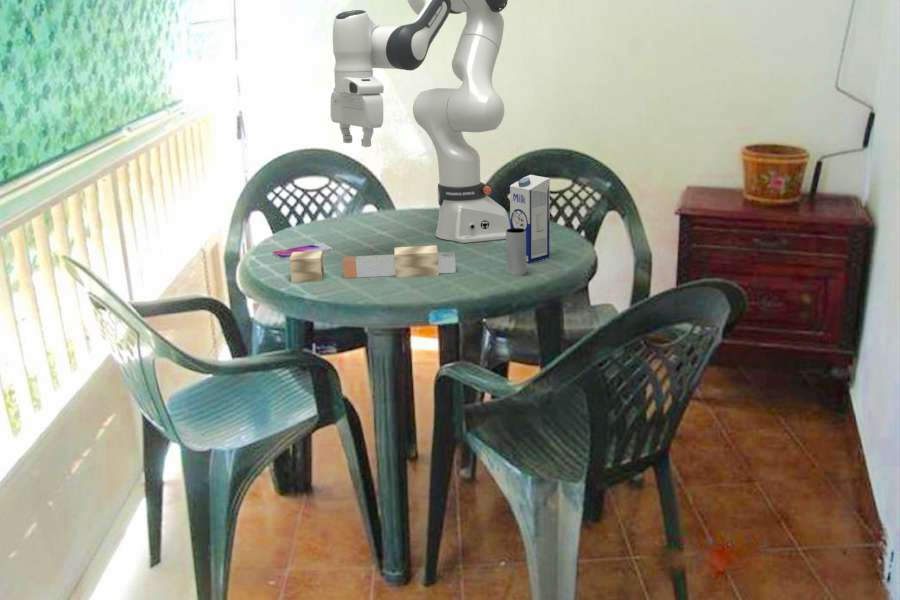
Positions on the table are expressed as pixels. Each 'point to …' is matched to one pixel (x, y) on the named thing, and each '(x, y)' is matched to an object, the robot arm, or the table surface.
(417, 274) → the sleeve
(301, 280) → the beige wooden block
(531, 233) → the milk carton
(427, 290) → the table surface
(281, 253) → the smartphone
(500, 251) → the table surface
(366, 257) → the slip tube
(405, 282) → the table surface
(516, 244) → the grey cylinder
